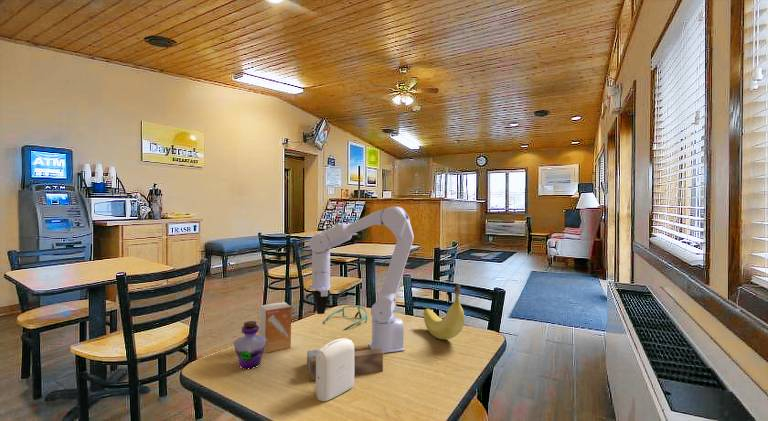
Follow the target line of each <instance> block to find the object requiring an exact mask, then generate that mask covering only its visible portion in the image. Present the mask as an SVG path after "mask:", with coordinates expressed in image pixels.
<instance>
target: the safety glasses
mask: <svg viewBox="0 0 768 421" xmlns="http://www.w3.org/2000/svg"><path fill="white" fill-rule="evenodd" d="M352 307H353V308H357V310H358V312H356V314H355V315H354V318H358V316H359V319H360V320H358V321H356V322H353V323H352V324H350V325H348V326H346V327H345V328H343V329H342V331H346V330H348V329H350V328H352V327H354V326H356V325H358V324H359V323H360V322H363V320H365V321H364V323H367V321H368V312H367V310H366V308H365V307H362V306H361V305H353V304H352V305H351V304H350V305H347V306H344V307H342V308H340V309H337V310H335V311H334V312H332V313H331V314H329V315H328V316H327V317H326V318H325V320H324V322H323V324H322V325H325V324H326V322H327V321H328V319H330V318H331V317H332V316H333V315H335V314H338V313H341V312H342V317H344V318H345V317H348V318H349V316H348V315H345V308H352ZM361 309H362V310H363V311H364V312H365V314H364V316H362V313H361Z"/></svg>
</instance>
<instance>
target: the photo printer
mask: <svg viewBox="0 0 768 421" xmlns="http://www.w3.org/2000/svg"><path fill="white" fill-rule="evenodd" d="M353 342H354V341H352V340H351V339H348V338H337V339H334V340H331V341H330V342H329V341H328V343H325V344H324V345H323V346H321V348H319V349H317V350H318V351H317V353H316V380H315V396H316V398H317V399H318V401H319V402H320V401H321V402H327V401H330V400H331V399H334V398H336V397H338V396H340V395H341V394H343V393H345V392H346V391H349V390H350V389H353V387H354V386H355V375H354V364H355V363H354V352H355V344H354V343H353Z"/></svg>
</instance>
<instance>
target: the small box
mask: <svg viewBox="0 0 768 421" xmlns="http://www.w3.org/2000/svg"><path fill="white" fill-rule="evenodd" d="M259 335H261V336H263V337H265V338H267V339H266V343H265V348H264V350H262V351H263V352H264V353H271V352H276V351H281V350H286V349H287V350H288V349H291V348H292V305H289V304H288V303H287V302H285V301H284V302H276V303H275V302H273V303H269V304H263V305H259Z"/></svg>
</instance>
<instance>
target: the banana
mask: <svg viewBox="0 0 768 421" xmlns="http://www.w3.org/2000/svg"><path fill="white" fill-rule="evenodd" d="M453 292H454V294H455V297H454V301H453V303H452V304H451V305H450V307H449V308H448V309H447V311H446V314H445V315H444V317H443V318H441V317H440V316H439V315H437V314H436V313H435V312H434V311H433V310H432V309H430V308H425V309H424V311H423V315H422V316H423V320H424V324H425V327H426V329H427V330H428V332H429V333H430V334H431V335H432V336H433V337H434V338H436V339H439V340H451V339H454V338H455V337H457V336H458V335H459V334H460V333H461V332H462V331H463V328H464V326H465V312H464V309H463V307H462V305H461V302H460V300H459V295H460V293H461V285H459V284H457V285H455V287H454V289H453Z"/></svg>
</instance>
